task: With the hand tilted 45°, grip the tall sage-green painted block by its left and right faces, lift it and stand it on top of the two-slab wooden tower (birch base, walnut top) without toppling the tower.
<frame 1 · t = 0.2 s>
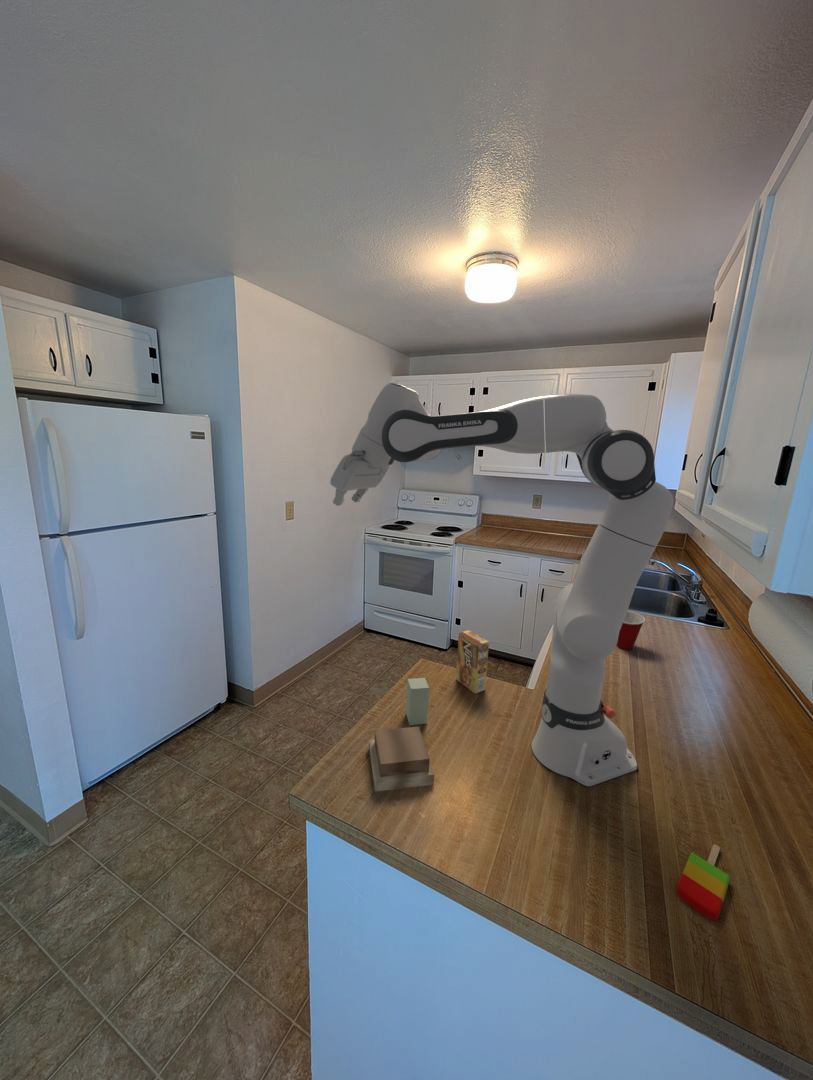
hand: (346, 502, 98), 54 cm above the counter, tool tilted 25°, fingers open, 8 cm apart
plastic cup: (622, 647, 149), on the counter
green block: (416, 718, 104), on the counter
popsicle: (705, 879, 67), on the counter
tower base: (399, 768, 88), on the counter, touching tower top
tower top: (400, 756, 87), point 2 cm above the counter, touching tower base
candy box: (469, 685, 120), on the counter
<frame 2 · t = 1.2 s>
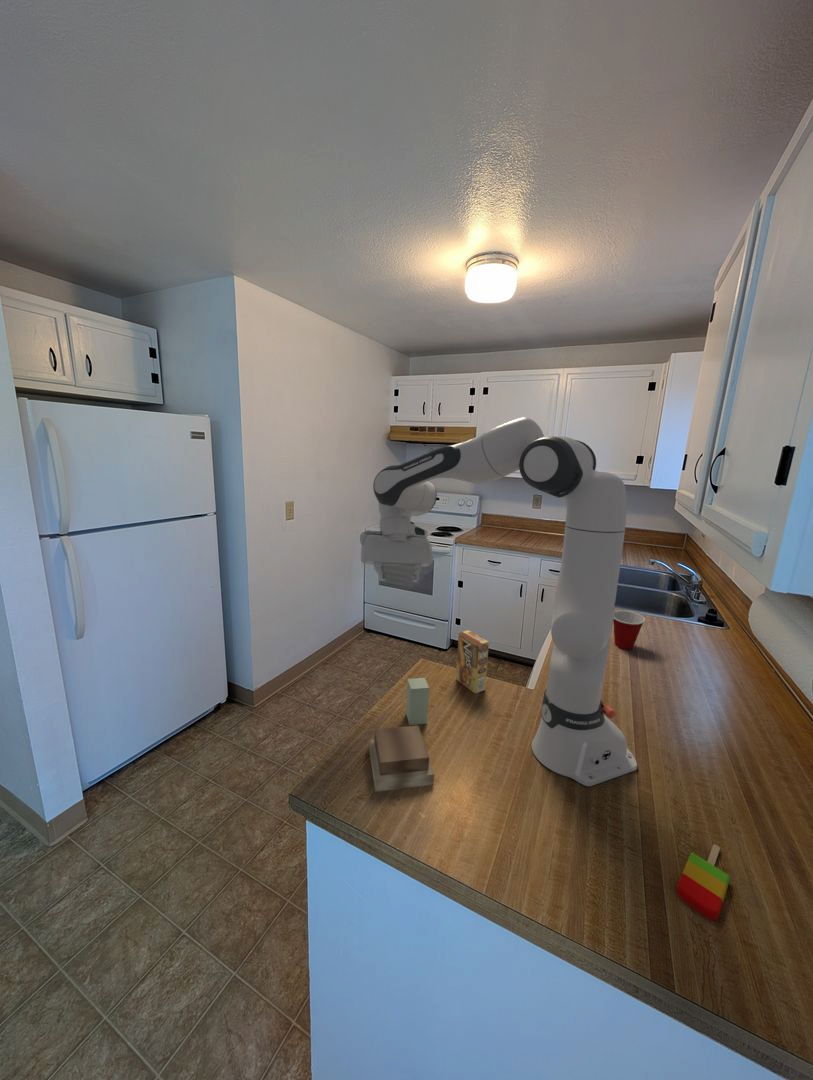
hand: (399, 580, 109), 32 cm above the counter, tool tilted 35°, fingers open, 8 cm apart
nothing on the counter moved.
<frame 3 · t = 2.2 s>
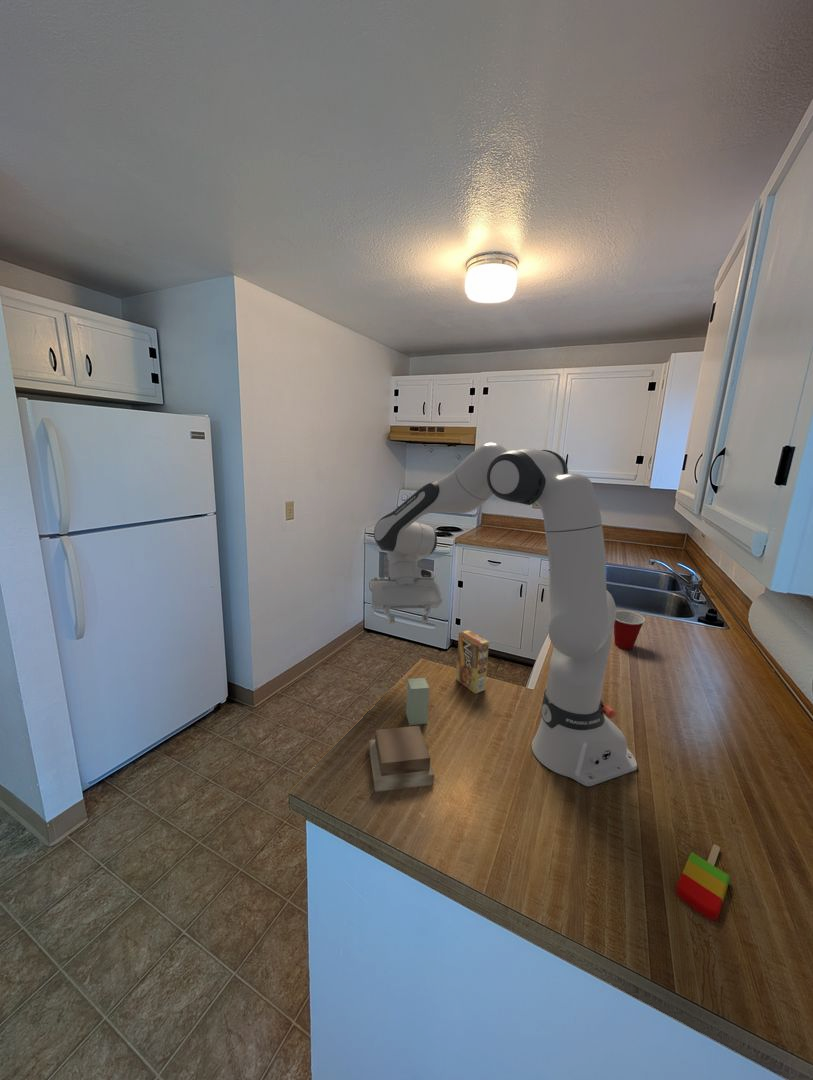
hand: (408, 622, 112), 20 cm above the counter, tool tilted 45°, fingers open, 8 cm apart
nothing on the counter moved.
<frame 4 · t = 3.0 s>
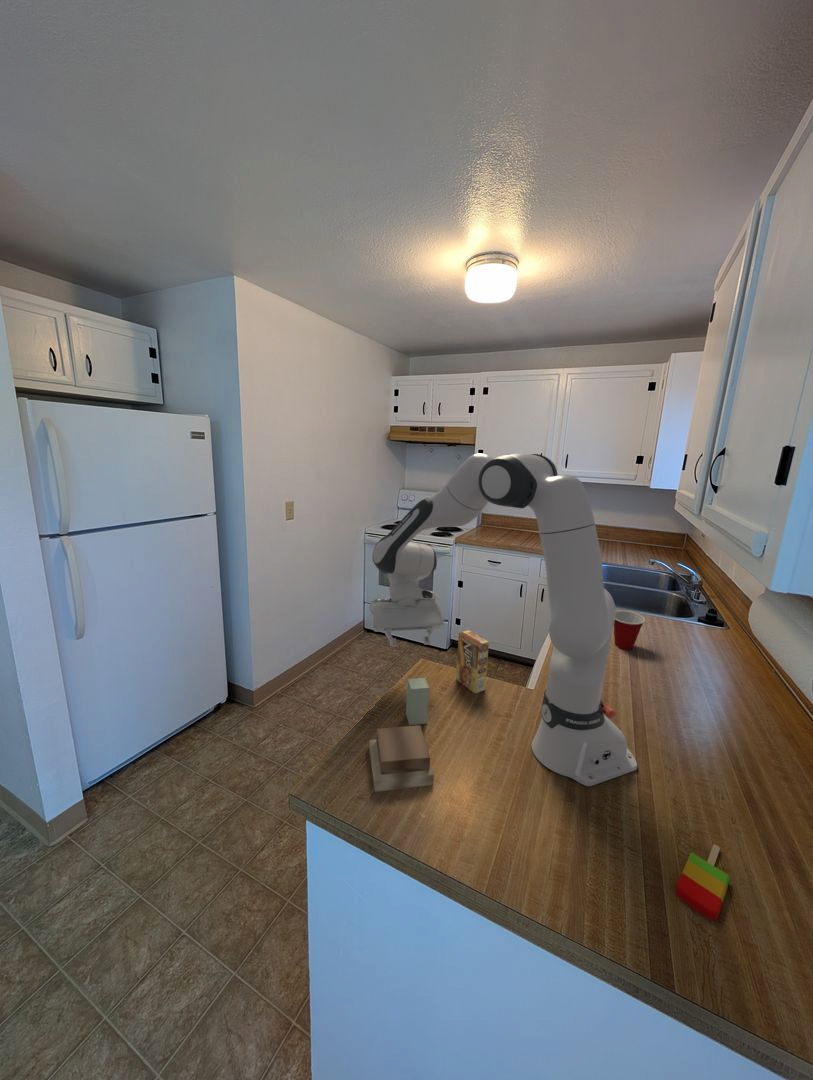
hand: (410, 644, 111), 15 cm above the counter, tool tilted 45°, fingers open, 8 cm apart
nothing on the counter moved.
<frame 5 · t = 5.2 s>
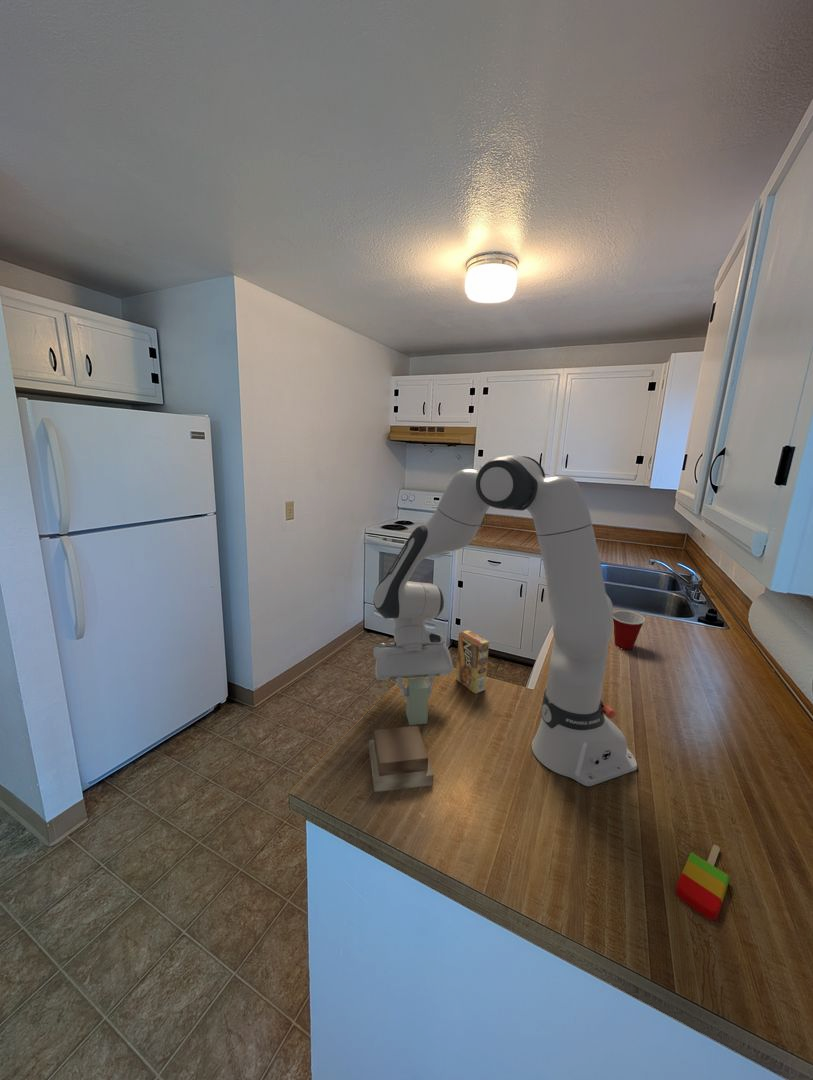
hand: (417, 695, 103), 6 cm above the counter, tool tilted 45°, fingers closed on green block, 4 cm apart
green block: (416, 718, 104), on the counter, touching gripper
everything else where it was.
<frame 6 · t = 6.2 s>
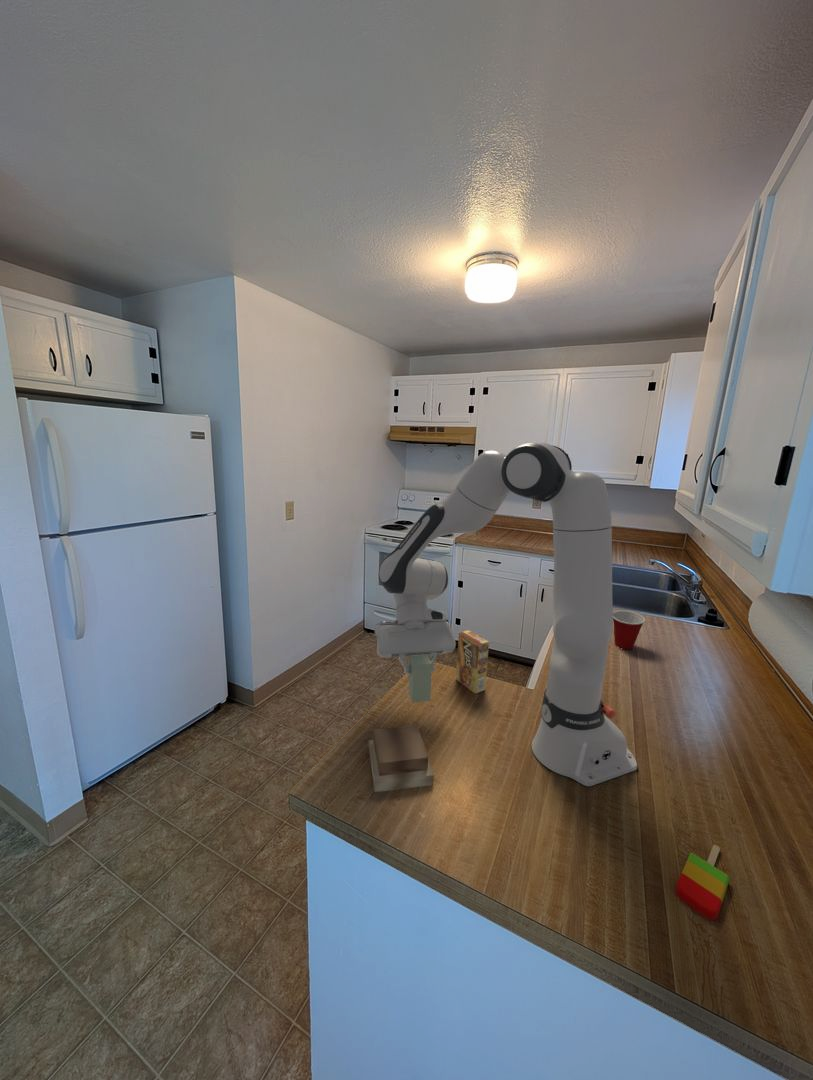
hand: (419, 672, 101), 13 cm above the counter, tool tilted 45°, fingers closed on green block, 4 cm apart
green block: (419, 696, 102), point 6 cm above the counter, touching gripper
tower base: (399, 768, 88), on the counter
tower top: (399, 755, 88), point 2 cm above the counter
everything else where it was.
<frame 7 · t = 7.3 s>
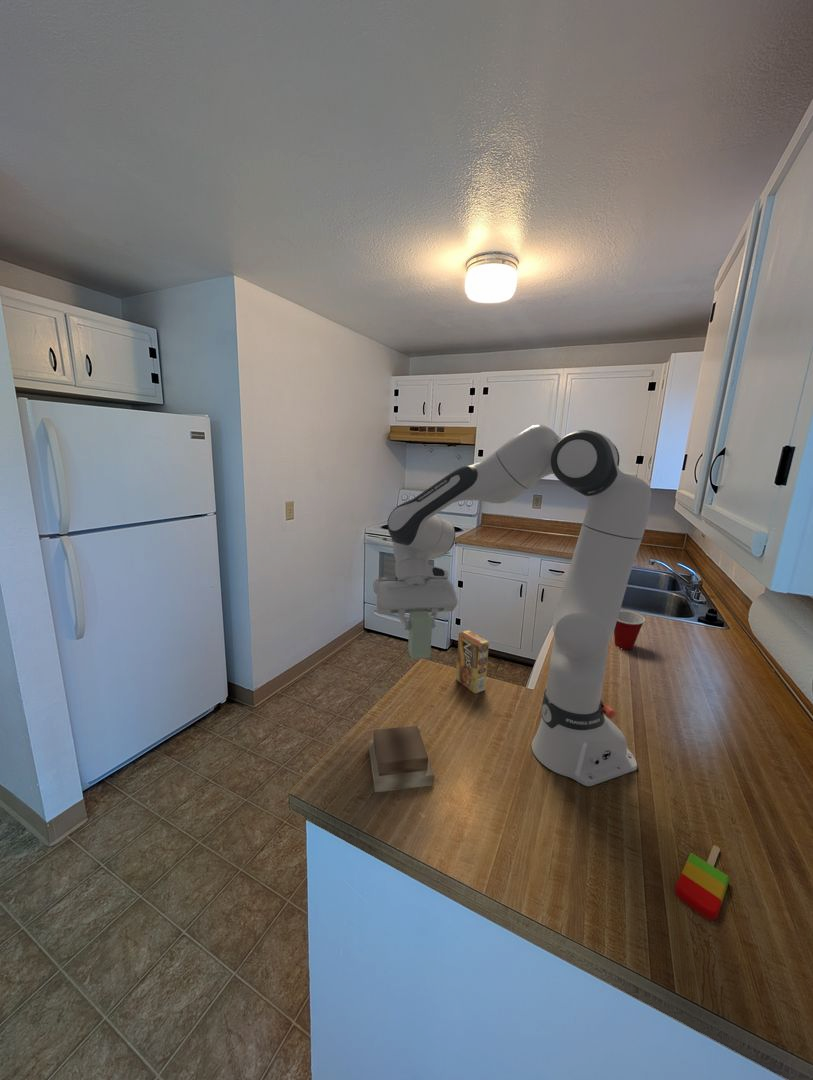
hand: (419, 628, 97), 25 cm above the counter, tool tilted 45°, fingers closed on green block, 4 cm apart
green block: (418, 653, 98), point 19 cm above the counter, touching gripper
tower base: (399, 768, 88), on the counter, touching tower top
tower top: (399, 755, 88), point 2 cm above the counter, touching tower base
everything else where it was.
when the fingers open (13 cm above the counter, at t = 11.3 s): green block drops 2 cm, resting on tower top.
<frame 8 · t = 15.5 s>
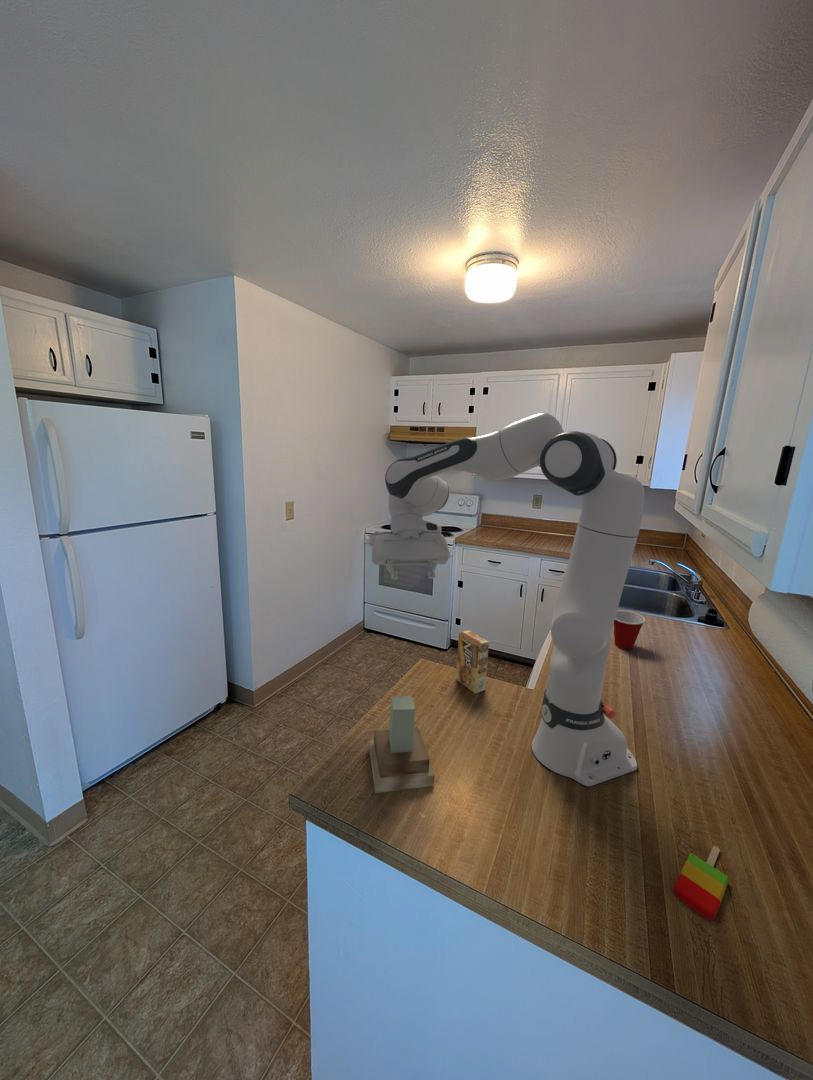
hand: (413, 578, 102), 35 cm above the counter, tool tilted 45°, fingers open, 8 cm apart
green block: (400, 744, 86), point 5 cm above the counter, touching tower top
tower top: (400, 756, 87), point 2 cm above the counter, touching green block, tower base
everything else where it was.
at the end: green block 0.2 cm from the tower top (horizontally); green block touching tower top; green block tilted 0° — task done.
